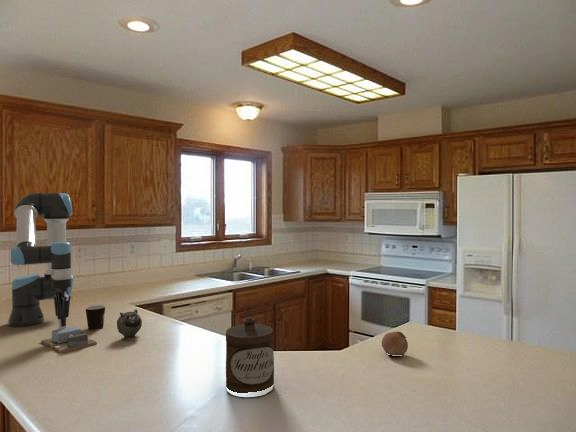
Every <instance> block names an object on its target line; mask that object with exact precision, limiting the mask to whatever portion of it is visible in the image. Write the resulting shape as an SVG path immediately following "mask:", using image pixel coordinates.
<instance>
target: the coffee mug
mask: <svg viewBox="0 0 576 432" xmlns="http://www.w3.org/2000/svg"><path fill="white" fill-rule="evenodd" d="M84 310H85V316H86V323H87V329H88V331H98V330H99V331H100V330H103V329H104V323H105V322H104V321H105V314H106V305H104V304H101V305H100V304H95V305H89V306H86V307H85V309H84Z"/></svg>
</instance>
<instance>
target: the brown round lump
mask: <svg viewBox="0 0 576 432" xmlns="http://www.w3.org/2000/svg"><path fill="white" fill-rule="evenodd" d="M408 344H409V343H408V340H407V336H405V334H404V333H403V332H402V331H393V332H391V331H390V332H387V333H385V335H384V336H383V338H382V340H381V347H382V348H383V350H384V352H385V354H386V353H388V354H390V355H405V354H406V353H407V351H408V348H409V345H408Z"/></svg>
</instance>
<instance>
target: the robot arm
mask: <svg viewBox="0 0 576 432" xmlns="http://www.w3.org/2000/svg"><path fill="white" fill-rule="evenodd" d="M72 206H73V205H72V201H71V197H70V195H69V194H68V193H65V192H64V193H61V192H33V193H32V192H31V193H28V194H26V195H24V196H23V197H22V198H21V199H19V200H18V201H17V203H16V205H15V206H14V212H13V213H14V217H15V218H16V239H15V245H16V246H15V247H11V248H10V264H11V265H12V266H13V265H14V266H16V265H17V266H18V265H19V266H20V265H21V266H23V265H24V266H25V265H35V264H36V265H37V264H47V270H46V271H45V272H44V273H43V274H44V276H40V274H38V273H37V274H28V275H23V276H19V277H15V278H14V279H13V280H12V283H11V294H12V295H11V298H12V299H11V300H12V302H11V312H10V314H9V317H8V321H7V325H8V327H13V328H14V327H15V328H16V327H19V328H20V327H28V326H33V325H34V326H35V325H38V324H41V323H44V322H45V316H44V313H43V311H42V307H41V304H40V303H41V301H45V300H53V301H54V302H53V304H54V312H55V313H54V314H55V317H56V318H57V328H58V329H63V328H67V318H69V315H70V306H71V305H70V304H71V303H70V302H71V299H72V297H71V294H72V292H73V285H74V275H73V274H72V247H71V242H68V241H67V222H68V221H69V220H70V217H71V216H73V208H72ZM37 217H43V220H44V222H45V223H46V243H47V244H46V245H41V246H39V245H38V246H37V233H36V231H37V230H36V226H37V225H36V222H37V221H36V218H37ZM58 329H57V330H58Z"/></svg>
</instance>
